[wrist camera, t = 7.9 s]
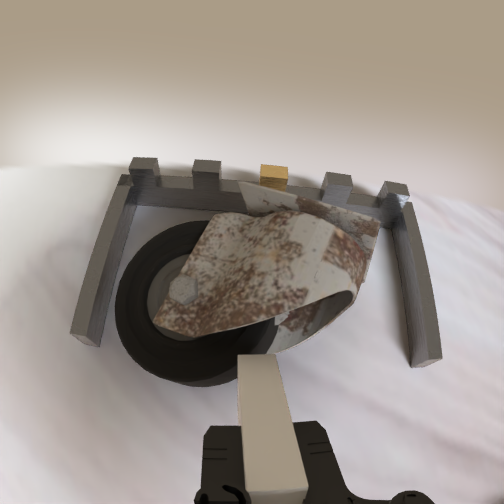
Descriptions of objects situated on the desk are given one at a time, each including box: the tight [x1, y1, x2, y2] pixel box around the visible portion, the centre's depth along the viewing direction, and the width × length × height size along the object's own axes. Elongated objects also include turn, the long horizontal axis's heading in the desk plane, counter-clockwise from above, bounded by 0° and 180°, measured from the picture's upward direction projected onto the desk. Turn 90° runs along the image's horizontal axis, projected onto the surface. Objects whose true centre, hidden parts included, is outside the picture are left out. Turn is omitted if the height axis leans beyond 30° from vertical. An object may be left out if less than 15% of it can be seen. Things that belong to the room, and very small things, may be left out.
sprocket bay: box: [70, 157, 442, 368], centre depth 18 cm, size 20×11×4 cm, turn 86°
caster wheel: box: [115, 181, 381, 387], centre depth 16 cm, size 7×11×10 cm
